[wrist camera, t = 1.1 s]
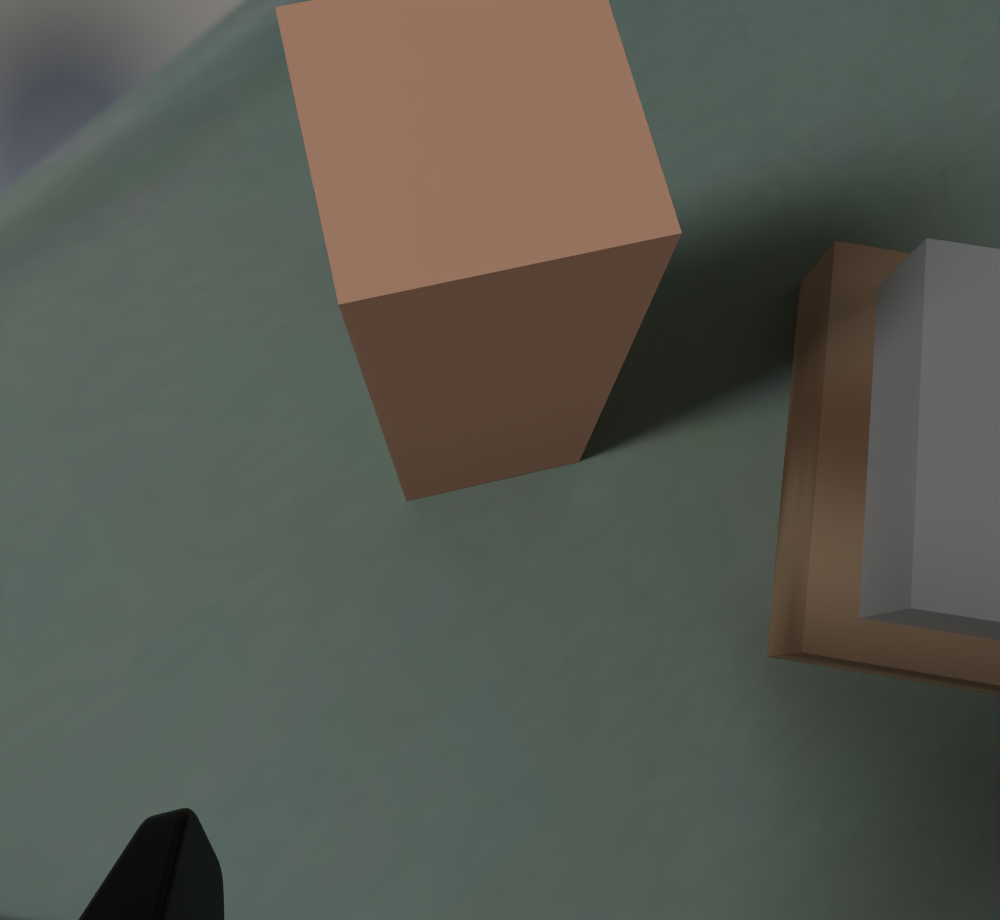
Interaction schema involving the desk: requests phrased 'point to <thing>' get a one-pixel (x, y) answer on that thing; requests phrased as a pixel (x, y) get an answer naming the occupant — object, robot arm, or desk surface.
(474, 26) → the pillar
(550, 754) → the desk surface
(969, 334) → the tower top
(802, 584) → the tower base
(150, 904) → the robot arm
